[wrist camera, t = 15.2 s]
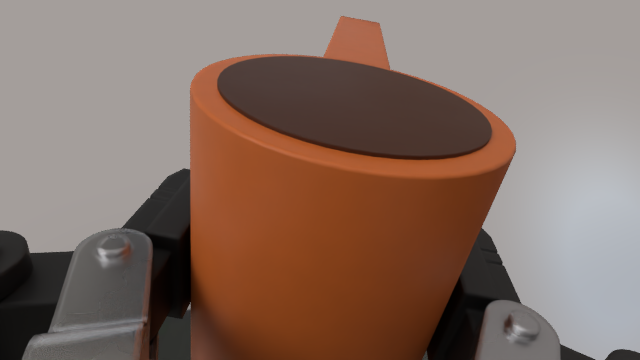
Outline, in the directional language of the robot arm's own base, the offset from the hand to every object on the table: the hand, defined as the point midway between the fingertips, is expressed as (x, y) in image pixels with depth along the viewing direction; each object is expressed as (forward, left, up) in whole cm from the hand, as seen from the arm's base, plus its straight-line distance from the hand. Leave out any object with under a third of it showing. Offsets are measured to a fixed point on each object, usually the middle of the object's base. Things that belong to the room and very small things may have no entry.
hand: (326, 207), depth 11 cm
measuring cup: (-1, -1, -6) cm, 6 cm away
